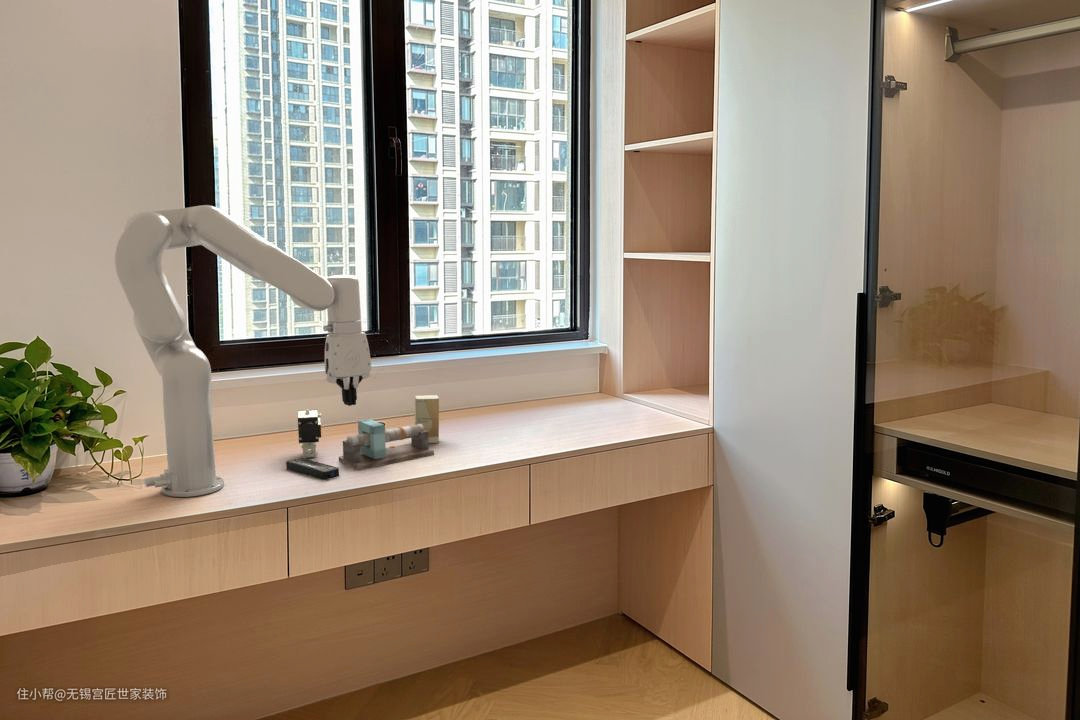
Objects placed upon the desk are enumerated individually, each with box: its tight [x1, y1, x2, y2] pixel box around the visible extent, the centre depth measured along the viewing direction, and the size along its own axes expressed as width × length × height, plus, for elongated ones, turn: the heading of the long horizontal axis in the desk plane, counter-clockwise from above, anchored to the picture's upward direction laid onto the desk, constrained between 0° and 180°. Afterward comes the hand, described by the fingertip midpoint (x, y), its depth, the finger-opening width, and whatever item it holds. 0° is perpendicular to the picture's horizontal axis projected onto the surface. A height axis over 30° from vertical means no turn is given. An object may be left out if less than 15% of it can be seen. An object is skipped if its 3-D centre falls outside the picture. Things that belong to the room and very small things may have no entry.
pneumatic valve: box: [297, 408, 322, 459], centre depth 208 cm, size 6×12×12 cm, turn 15°
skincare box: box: [414, 394, 440, 444], centre depth 222 cm, size 6×4×12 cm
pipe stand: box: [338, 424, 435, 471], centre depth 207 cm, size 21×10×7 cm, turn 129°
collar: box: [357, 418, 387, 459], centre depth 205 cm, size 3×8×8 cm, turn 39°
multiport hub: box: [285, 457, 340, 481], centre depth 196 cm, size 4×14×2 cm, turn 52°
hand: (349, 404), depth 200 cm, fingers closed
